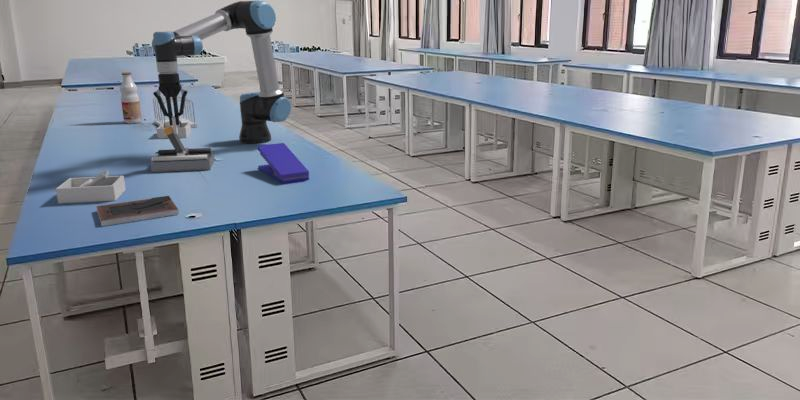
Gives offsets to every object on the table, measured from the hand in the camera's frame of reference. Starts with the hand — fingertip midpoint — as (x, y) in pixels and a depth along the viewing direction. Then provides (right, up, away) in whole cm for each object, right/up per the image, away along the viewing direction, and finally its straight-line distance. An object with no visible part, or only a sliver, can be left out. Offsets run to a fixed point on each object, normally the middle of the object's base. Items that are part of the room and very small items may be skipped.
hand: (175, 133), depth 242 cm
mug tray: (-26, +6, +68) cm, 73 cm away
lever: (+2, -8, +3) cm, 9 cm away
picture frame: (+7, -31, -52) cm, 61 cm away
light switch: (-16, -26, -36) cm, 47 cm away
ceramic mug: (-25, +6, +67) cm, 72 cm away
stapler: (+44, -17, -7) cm, 48 cm away
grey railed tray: (+1, -9, +4) cm, 10 cm away
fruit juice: (-63, +17, +105) cm, 124 cm away
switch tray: (-15, -25, -35) cm, 46 cm away
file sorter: (-36, +15, +97) cm, 104 cm away
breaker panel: (+2, -13, +5) cm, 14 cm away
